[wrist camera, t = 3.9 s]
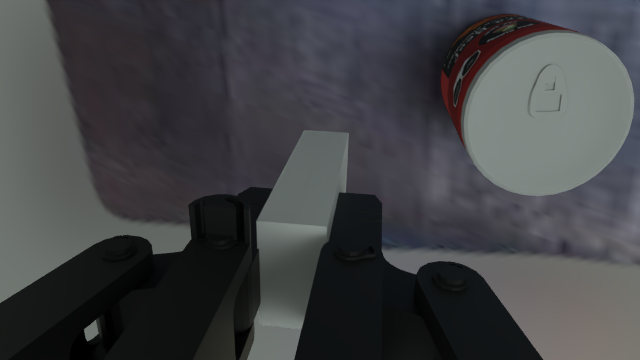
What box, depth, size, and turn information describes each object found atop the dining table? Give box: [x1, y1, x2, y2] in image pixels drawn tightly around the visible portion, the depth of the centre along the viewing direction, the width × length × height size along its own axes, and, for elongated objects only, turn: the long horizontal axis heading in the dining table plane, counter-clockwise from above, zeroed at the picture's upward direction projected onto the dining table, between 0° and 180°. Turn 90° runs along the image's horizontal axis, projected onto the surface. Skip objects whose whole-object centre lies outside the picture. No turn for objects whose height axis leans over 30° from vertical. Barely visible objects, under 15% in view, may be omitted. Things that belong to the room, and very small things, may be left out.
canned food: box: [441, 14, 634, 196], centre depth 27 cm, size 8×8×11 cm
